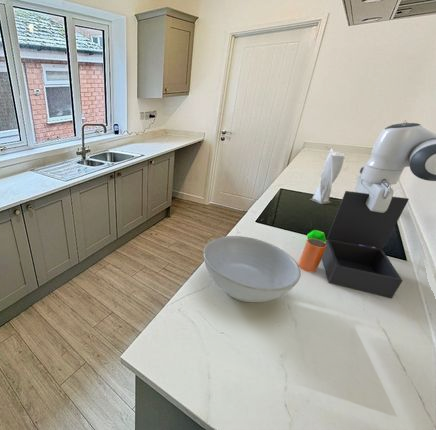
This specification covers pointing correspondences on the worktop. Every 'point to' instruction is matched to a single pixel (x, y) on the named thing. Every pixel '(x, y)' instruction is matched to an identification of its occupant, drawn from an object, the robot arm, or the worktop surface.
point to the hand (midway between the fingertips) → (362, 213)
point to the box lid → (365, 220)
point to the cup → (312, 255)
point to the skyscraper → (328, 177)
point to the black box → (360, 268)
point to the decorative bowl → (250, 268)
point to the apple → (316, 235)
